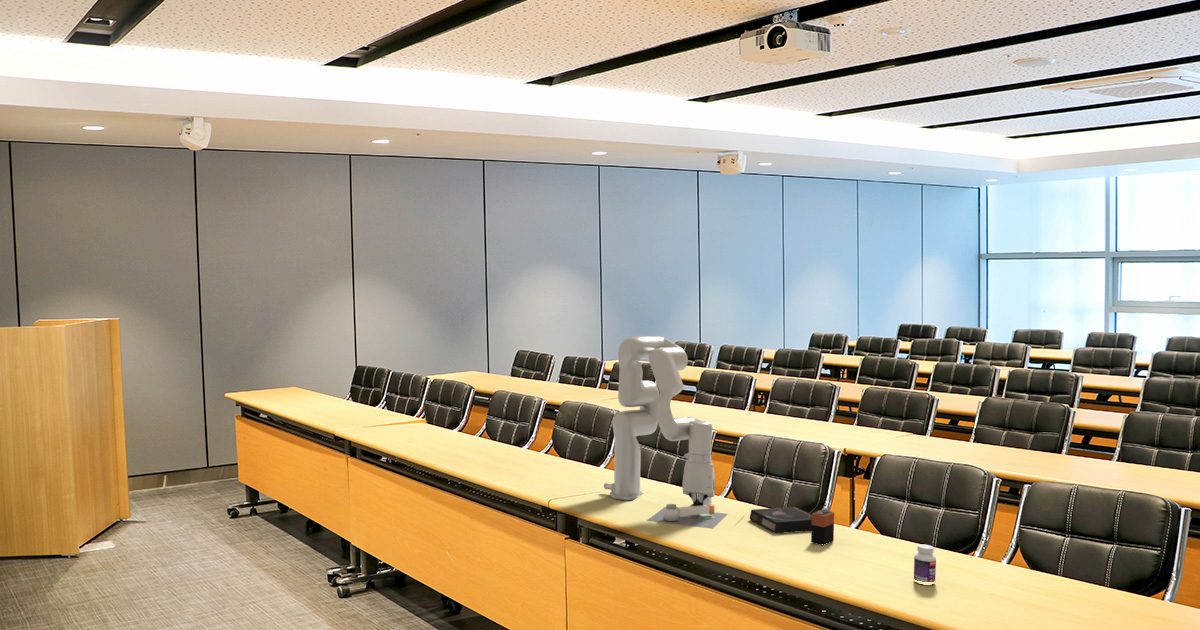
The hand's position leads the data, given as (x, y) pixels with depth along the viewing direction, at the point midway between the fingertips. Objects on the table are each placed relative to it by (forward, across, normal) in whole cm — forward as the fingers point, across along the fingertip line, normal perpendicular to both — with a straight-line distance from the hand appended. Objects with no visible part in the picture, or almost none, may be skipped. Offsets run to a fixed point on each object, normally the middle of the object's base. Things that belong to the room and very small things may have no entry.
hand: (697, 512), depth 294 cm
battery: (+2, +42, -9) cm, 43 cm away
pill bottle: (+1, +72, -36) cm, 80 cm away
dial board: (+2, -2, -4) cm, 5 cm away
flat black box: (+3, +28, +6) cm, 29 cm away
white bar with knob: (0, -1, -6) cm, 6 cm away
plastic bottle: (+3, -2, +14) cm, 14 cm away
